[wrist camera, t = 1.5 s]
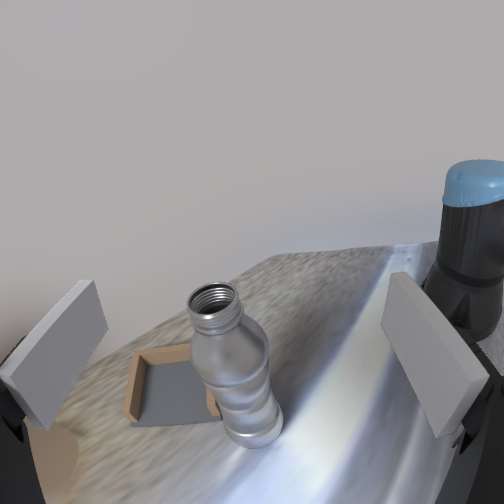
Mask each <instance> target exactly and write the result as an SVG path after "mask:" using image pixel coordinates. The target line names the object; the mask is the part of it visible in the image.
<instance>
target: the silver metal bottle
mask: <svg viewBox="0 0 504 504" xmlns="http://www.w3.org/2000/svg"><path fill="white" fill-rule="evenodd" d="M187 309H188V312H189V314H190V317H191V323H192V325H193V327H194V329H195V332H194V334H193V337H192V340H191V343H190V361H191V364H192V367H193V369H194V370H195V372H196V374H197V375H198V376H199V378H200V379H201V380H202V381H203V383H204V384H205V385H206V386H207V388H208V389H209V390H210V391H211V393H212V395H213V396H214V398H215V400H216V401H217V403H218V405H219V407H220V410H221V413H222V417H223V423H224V427H225V431H226V433H227V435H228V436H229V437H230V438H231V439H232V440H233V441H234V442H235V443H237V444H238V445H240V446H242V447H244V448H248V449H257V448H262V447H265V446H267V445H269V444H271V443H272V442H273V441H274V440H275V439H276V438H277V437H278V436H279V434H280V432H281V429H282V425H283V412H282V410H281V407H280V405H279V403H278V402H277V400H276V399H275V397H274V394H273V392H272V389H271V385H270V378H269V344H268V338H267V336H266V334H265V332H264V331H263V329H262V328H261V326H260V325H259V324H258V323H257V322H256V321H255V320H253V319H252V318H250V317H249V316H247V315H245V314H244V310H243V306H242V303H241V302H240V300H239V296H238V293H237V291H236V289H235V287H234V286H233V285H231V284H229V283H226V282H213V283H209V284H206V285H203V286H201V287H199V288H197V289H196V290H195V291H194V292H192V294H191V295H190V296H189V298H188V300H187Z"/></svg>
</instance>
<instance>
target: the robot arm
mask: <svg viewBox="0 0 504 504" xmlns="http://www.w3.org/2000/svg"><path fill="white" fill-rule="evenodd" d="M442 201H443V212H442V221H441V230H440V238H439V244H438V250H437V256H436V260H435V262H434V264H433V266H432V268H431V269H430V271H429V273H428V275H427V277H426V279H425V280H424V282H423V283H422V285H421V287H419V286H418V285H417V284H416V282H415V281H414V280H413V279H412V278H411V277H410V276H409V275H408V274H407V272H401V273H391V277H390V282H389V288H388V293H387V298H386V303H385V308H384V313H383V318H382V322H381V327H382V329H383V331H384V333H385V334H386V336H387V338H388V340H389V342H390V344H391V346H392V348H393V350H394V352H395V353H396V355H397V357H398V359H399V361H400V363H401V365H402V367H403V369H404V371H405V373H406V375H407V377H408V379H409V381H410V383H411V385H412V387H413V390H414V392H415V394H416V396H417V398H418V400H419V402H420V404H421V407H422V409H423V411H424V413H425V415H426V417H427V420H428V422H429V424H430V427H431V429H432V431H433V433H434V436H435V438H436V439H437V438H440V437H443V436H446V435H449V434H451V433H454V432H455V430H456V429H457V427H458V426H459V425H460V423H461V422H462V424H463V426H464V428H465V429H464V431H463V432H462V433H461V435H460V436H459V437H458V438H457V440H456V441H455V442H454V444H453V446H452V448H454V447H455V446H456V445H457V444H458V446H457V449H456V452H455V455H454V458H453V461H452V463H451V466H450V469H449V471H448V474H447V477H446V479H445V481H444V484H443V486H442V489H441V491H440V493H439V495H438V498H437V500H436V502H435V504H504V376H501V375H500V374H499V372H498V371H497V369H496V368H495V367H494V365H493V364H492V363H491V361H490V360H489V359H488V357H487V356H486V355H485V354H484V352H482V351H481V348H480V347H479V346H478V345H476V342H477V341H480V340H483V339H485V338H487V337H488V336H489V335H490V334H492V332H493V331H494V330H495V328H496V326H497V324H498V321H499V319H500V316H501V313H502V296H503V279H504V162H502V161H496V160H468V161H463V162H459V163H457V164H455V165H453V166H452V167H451V168H450V169H449V170H448V172H447V175H446V182H445V190H444V195H443V197H442ZM107 331H108V326H107V323H106V320H105V316H104V313H103V310H102V307H101V304H100V300H99V297H98V294H97V290H96V287H95V283H94V280H82V279H81V280H80V281H79V282H78V283H77V284H76V285H75V286H74V287H73V288H72V289H71V290H70V291H69V292H68V293H67V294H66V295H65V296H64V297H63V298H62V299H61V300H60V301H59V302H58V303H57V304H56V305H55V306H54V307H53V308H52V309H51V310H50V311H49V312H48V313H47V314H46V315H45V317H44V318H43V319H42V320H41V321H40V322H39V323H38V324H37V325H36V327H34V329H33V330H32V331H31V332H30V333H29V334H28V335H26V336H25V337H23V338H22V339H21V340H20V342H19V343H18V344H17V345H16V348H15V347H14V348H13V350H12V351H11V353H10V354H8V355H7V357H6V358H5V359H4V360H3V361H2V363H1V364H0V504H46V503H45V500H44V497H43V493H42V490H41V487H40V483H39V480H38V476H37V472H36V469H35V465H34V460H33V456H32V452H31V447H30V442H29V437H28V431H27V427H26V424H25V423H24V421H23V419H24V418H25V416H27V417H28V419H29V420H30V421H31V423H32V424H33V425H34V426H36V427H39V428H42V429H44V430H47V431H48V429H49V428H50V426H51V424H52V422H53V420H54V418H55V417H56V415H57V413H58V411H59V409H60V408H61V406H62V404H63V402H64V401H65V399H66V397H67V395H68V394H69V392H70V390H71V388H72V387H73V385H74V383H75V382H76V380H77V378H78V377H79V375H80V373H81V372H82V370H83V368H84V367H85V365H86V364H87V362H88V360H89V359H90V357H91V355H92V354H93V352H94V351H95V349H96V348H97V346H98V344H99V343H100V341H101V340H102V338H103V337H104V335H105V334H106V332H107Z"/></svg>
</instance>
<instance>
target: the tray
mask: <svg viewBox="0 0 504 504" xmlns="http://www.w3.org/2000/svg"><path fill="white" fill-rule="evenodd" d="M122 413H123V414H124V415H125V416H126V417H127V418H128V419H129V420H130V421H131V426H132V427H152V426H171V425H184V424H195V423H205V422H213V421H221V420H222V414H221V410H220V407H219V405H218V403H217V401H216V400H215V398H214V396H213V395H212V393H211V391H210V390H209V389H208V388H207V386H206V385H205V384H204V383H203V381H202V380H201V379H200V378H199V376H198V375H197V374H196V372H195V370H194V369H193V367H192V364H191V361H190V343H186V344H179V345H173V346H166V347H158V348H151V349H143V350H135V351H134V355H133V360H132V365H131V369H130V374H129V379H128V384H127V389H126V395H125V400H124V406H123V412H122Z"/></svg>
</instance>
